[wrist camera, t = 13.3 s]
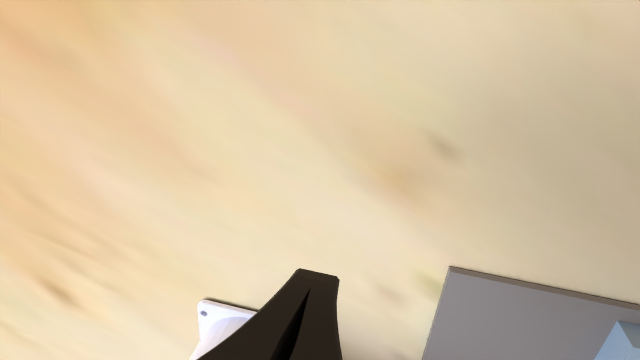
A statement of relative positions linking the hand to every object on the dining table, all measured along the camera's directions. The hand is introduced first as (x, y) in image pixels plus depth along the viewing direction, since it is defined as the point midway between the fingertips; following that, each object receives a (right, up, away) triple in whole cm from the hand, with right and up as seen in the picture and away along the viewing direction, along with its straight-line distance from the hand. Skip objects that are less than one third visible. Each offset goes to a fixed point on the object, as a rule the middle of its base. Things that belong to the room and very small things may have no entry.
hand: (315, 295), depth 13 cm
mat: (+14, -7, +11) cm, 20 cm away
